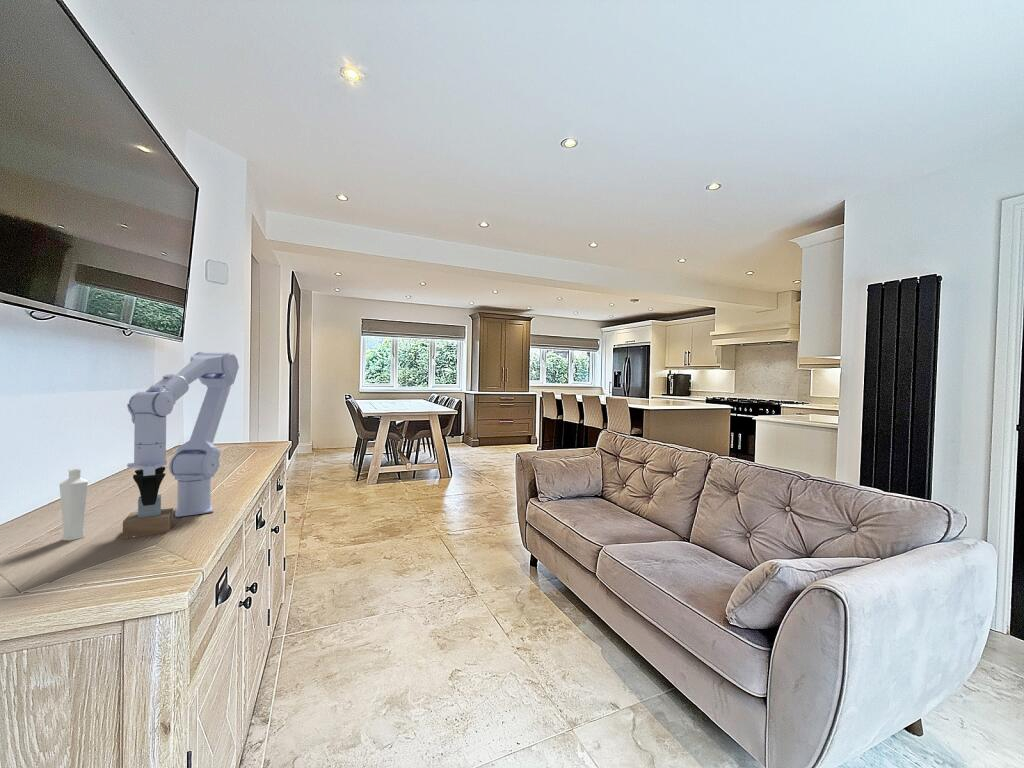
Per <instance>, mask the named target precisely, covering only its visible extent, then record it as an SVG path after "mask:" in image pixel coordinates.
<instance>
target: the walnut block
mask: <svg viewBox="0 0 1024 768" xmlns="http://www.w3.org/2000/svg"><path fill="white" fill-rule="evenodd" d="M172 524H173V525H174V507H172V508H161V515H156V516H149V517H142V518H138V511H133V512H130V513H129V514H128V515H127V516H126V517H125V519H123V521H122V539H128V538H127V537H131V538H134V537H133V536H139V537H144V536H143V535H147V536H151V535H152V534H155V535H160V534H159V533H162V534H167V533H166V532H168V533H169V532H170V530H171V528H172V527H173V525H172ZM171 526H172V527H171ZM152 536H153V535H152Z"/></svg>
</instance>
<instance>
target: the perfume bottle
mask: <svg viewBox="0 0 1024 768" xmlns="http://www.w3.org/2000/svg"><path fill="white" fill-rule="evenodd" d="M67 471H68V479H66V480H64V481H62V482H60V483H59V493H60V506H61V516H62V526H63V533H62V536H61V539H60V541H74V540H79V539H83V538H85V537H86V535H85V531H84V526H85V525H84V524H85V515H86V514H85V513H86V506H87V505H86V504H87V493H88V482H89V481H88V479H86V478H83V477H81V471H82V468H72V469H68V470H67Z"/></svg>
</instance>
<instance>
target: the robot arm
mask: <svg viewBox="0 0 1024 768" xmlns="http://www.w3.org/2000/svg"><path fill="white" fill-rule="evenodd" d="M239 368H240V366H239V362H238V358H237V356H236V354H234V353H233V352H229V351H228V352H203V351H198V352H196V353H195V354H193V355H192V356H190V361H189V363H188V364H186V366H184V367H183V368H182V369H181V370H180V371H178V373H176V374H175V373H173V374H165V375H163V376H162V379H160V380H159V381H158V382H156V383H155V384H154V385H153V384H152V385H151V386H149V388H147V390H146V391H137V392H136V393H135V394H133V395H132V396H131V397H130V398H129V401H128V403H127V404H126V406H127V407H126V408H127V410H128V413H130V417H131V422H132V424H134V429H133V430H134V432H133V433H134V435H133V436H134V440H133V441H134V445H133V446H134V448H133V449H134V450H133V462H128V463H127V465H126V467H127V468H134V469H136V470H135V471H134V473H135V474H133V475H132V479H133V480H134V482H135V483H136V485H137V487H138V489H139V494H140V495H139V496H140V497H141V500H142V504H143V506H147V505H155V503H156V500H157V495H158V494H159V490H160V487H161V484H162V482H163V480H164V479H165V476H166V473H165V470H166V465H168V469H169V473H170V474H171V476H172V477H174V481H175V480H176V481H177V491H176V492H177V493H176V494H177V496H176V497H177V500H176V502H177V503H176V504H177V505H176V507H174V515H175V518H181V517H189V516H194V515H202V514H208V513H209V514H211V513H214V508H213V505H212V503H211V500H212V497H211V496H212V494H211V492H212V489H211V488H212V487H211V486H212V485H211V484H212V478H214V477H215V474H216V473H217V472H218V471H219V467H220V456H221V451H220V449H219V448H218V447H217V446H215V444H214V441H215V438H216V435H217V432H218V428H219V425H220V422H221V419H222V416H223V412H224V410H225V408H226V407H225V406H226V403H227V400H228V397H229V393H230V391H231V388H232V387H231V386H232V385H233V384H234V383H235V380H236V377H237V374H238V371H239ZM196 380H199V381H200V383H201V384H202V385H205V386H206V387H207V390H206V392H205V396H204V398H203V401H202V403H201V407H200V410H199V413H198V415H197V418H196V421H195V424H194V427H193V430H192V433H191V436H190V438H189V440H188V441H186V442H184V443H183V444H181V445H180V446H178V447H177V449H176V451H175V453H174V455H173V456H171V458H170V460H169V464H168V461H167V459H166V458H167V416H168V415H170V414H171V413H172V411H173V408H174V406H175V404H176V402H177V401H178V400H179V399H180V398H181V397H183V396H184V395H185V394H186V393H187V392H188V391H189V388H190V386H189V385H190V384H192V383H193V382H195V381H196Z"/></svg>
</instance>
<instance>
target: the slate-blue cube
mask: <svg viewBox="0 0 1024 768" xmlns="http://www.w3.org/2000/svg"><path fill="white" fill-rule="evenodd" d="M161 509H162V494H161V493H160V494H159V493H158V495H157V500H156V503H155V505H147V506H143V504H142V500H141V496H138V499H137V512H138V518H142V517H149V516H156V515H161Z"/></svg>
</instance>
